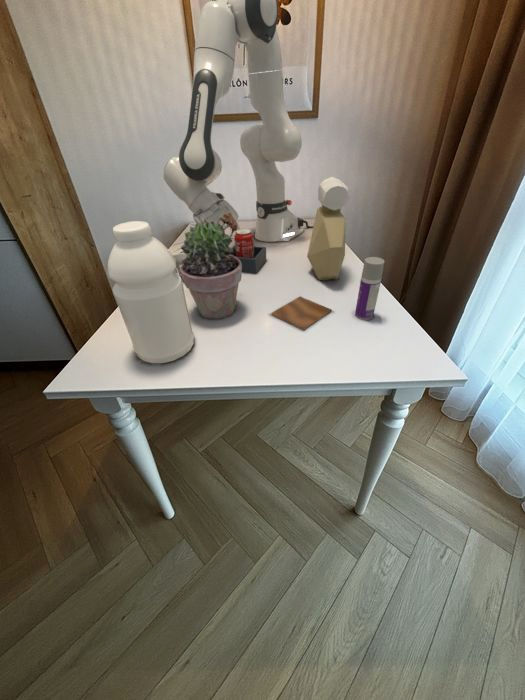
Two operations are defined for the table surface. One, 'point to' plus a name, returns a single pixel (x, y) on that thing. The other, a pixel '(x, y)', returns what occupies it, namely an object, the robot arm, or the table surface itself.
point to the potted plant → (211, 267)
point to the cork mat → (301, 312)
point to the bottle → (149, 294)
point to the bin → (252, 260)
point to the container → (369, 287)
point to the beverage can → (244, 243)
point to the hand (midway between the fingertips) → (236, 238)
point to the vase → (329, 230)
